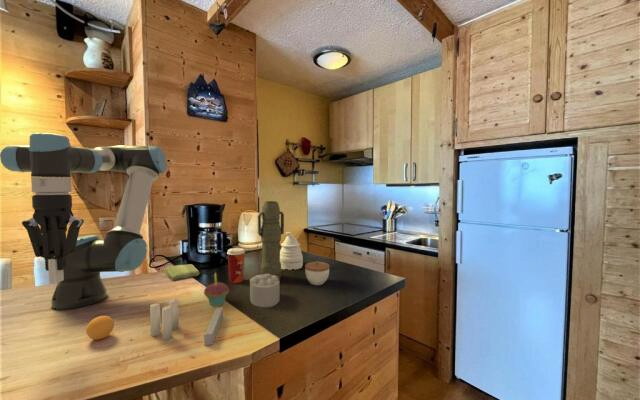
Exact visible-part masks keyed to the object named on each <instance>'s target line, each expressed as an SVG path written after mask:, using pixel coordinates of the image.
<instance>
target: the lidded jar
mask: <svg viewBox="0 0 640 400" xmlns="http://www.w3.org/2000/svg"><path fill="white" fill-rule="evenodd" d="M304 268H305V269H304V271H305V277H306V279H307V281H308V282H309V284H310V285H313V286H321V285H324V284H325V283H326V281H327V280H328V279H329V275H330V268H331V267H330V264H329V263H327V262H322V261H318V260H316V261H312V262H311V261H310V262H308V263H305V265H304Z"/></svg>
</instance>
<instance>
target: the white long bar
mask: <svg viewBox="0 0 640 400" xmlns="http://www.w3.org/2000/svg"><path fill="white" fill-rule="evenodd" d="M223 317H224V307H222V306H221V307H216V308H215V310H214V312H213V314H212V317H211V318H210V320H209V323H208V326H207V328H206V330H205V332H204V334H203V339H204V340H203V341H204V343H203V344H204V345H203V346H213V344H214V342H215V339H216V337H217V336H216V335H217V333H218V331H219V328H220V325H221V322H222V320H223Z"/></svg>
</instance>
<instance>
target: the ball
mask: <svg viewBox="0 0 640 400" xmlns="http://www.w3.org/2000/svg"><path fill="white" fill-rule="evenodd" d="M114 328H115V322H114V320H113V318H111V317H110V316H108V315H100V316H96V317H95V318H93V319H92V320H90V322H89V323H88V324H87V326H86V332H85V333H86V335H87V337H88V338H89V339H91V340H96V341H97V340H99V341H100V340H103V339H105V338H106V337H108V336H110V334H111V333H112V332H113V330H114Z"/></svg>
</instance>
